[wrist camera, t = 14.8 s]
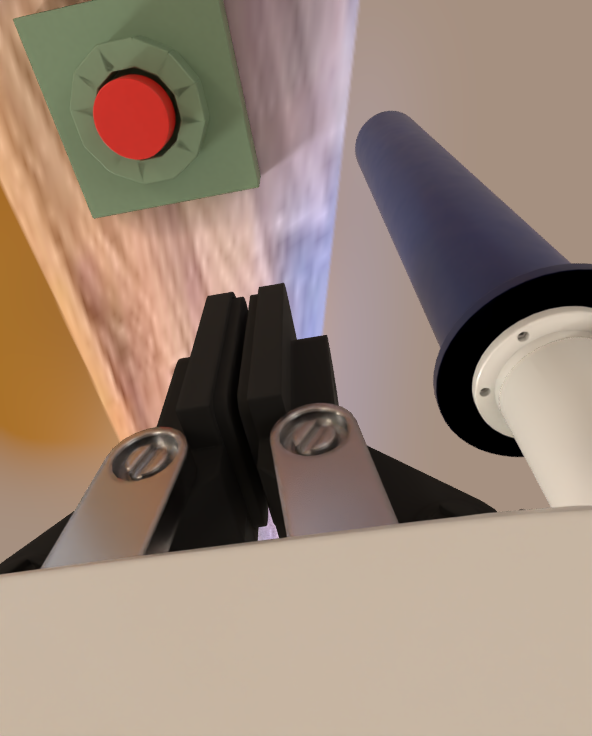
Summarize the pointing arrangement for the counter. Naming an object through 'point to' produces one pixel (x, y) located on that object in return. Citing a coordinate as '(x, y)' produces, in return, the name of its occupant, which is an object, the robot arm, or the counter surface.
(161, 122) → the button
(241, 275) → the counter surface
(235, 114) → the button box
